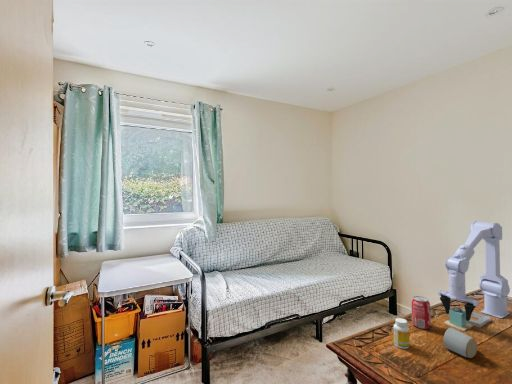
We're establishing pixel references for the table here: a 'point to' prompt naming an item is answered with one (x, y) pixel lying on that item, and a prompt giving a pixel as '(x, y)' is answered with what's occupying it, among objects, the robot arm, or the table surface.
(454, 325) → the cork coaster
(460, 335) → the grey cylinder
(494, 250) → the robot arm
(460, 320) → the teal cube with dome
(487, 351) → the table surface
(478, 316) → the block
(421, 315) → the soda can
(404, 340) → the supplement bottle
